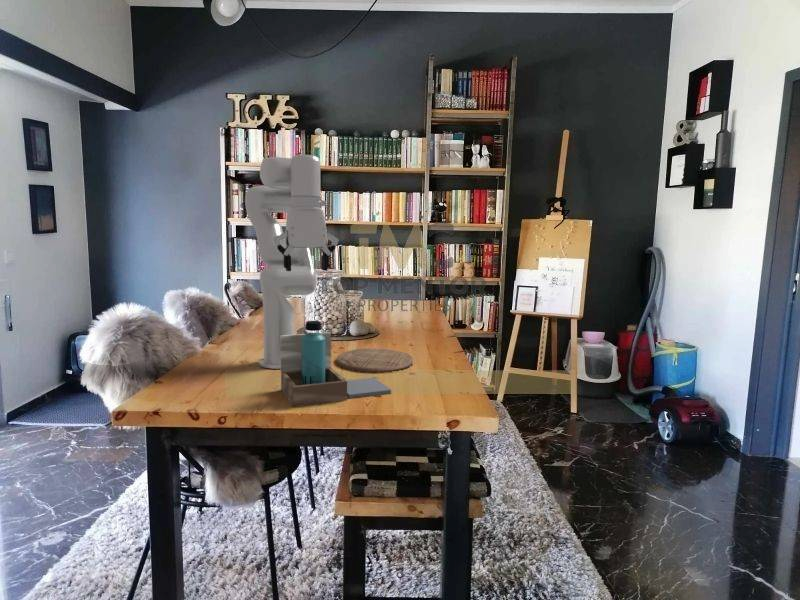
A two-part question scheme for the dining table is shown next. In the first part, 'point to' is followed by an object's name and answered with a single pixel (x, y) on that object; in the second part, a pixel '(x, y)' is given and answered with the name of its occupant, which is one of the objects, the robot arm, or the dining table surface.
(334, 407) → the dining table surface
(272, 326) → the robot arm
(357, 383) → the slate mat
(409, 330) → the dining table surface
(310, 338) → the beverage bottle
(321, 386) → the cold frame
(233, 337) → the dining table surface
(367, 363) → the trivet
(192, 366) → the dining table surface
